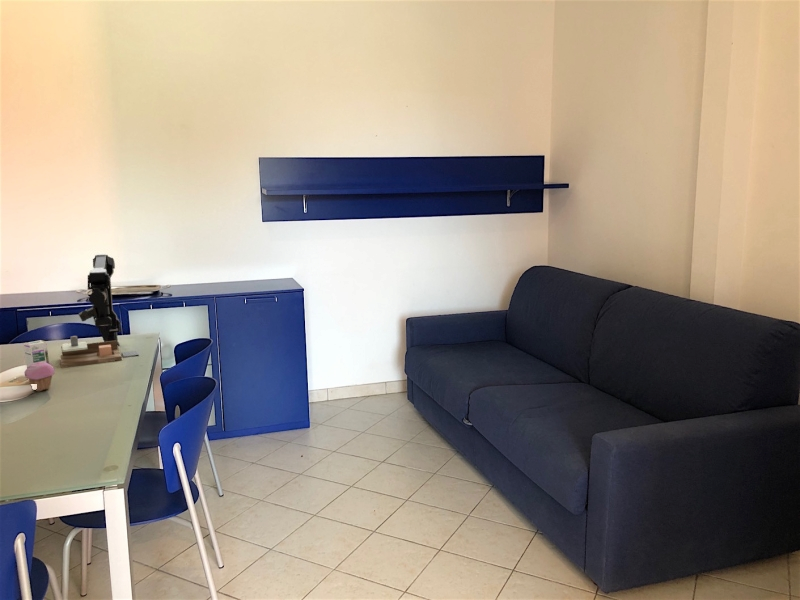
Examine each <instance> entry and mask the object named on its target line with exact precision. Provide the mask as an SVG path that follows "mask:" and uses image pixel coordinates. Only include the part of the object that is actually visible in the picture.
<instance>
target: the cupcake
mask: <svg viewBox="0 0 800 600" xmlns="http://www.w3.org/2000/svg"><path fill="white" fill-rule="evenodd" d="M54 374H55V368H54V367H53V365H51V364H50V363H49V364H48V363H46V362H37V363H33V364H31V365H30V366H29V367H28V368H27V367H26V369H25V371H24V377H25V378H27V379H29V380H28V381H29V384H37V389H36V391H35V392H42V391H44V390H49V389H50V387H51V383H52V378H53V375H54Z"/></svg>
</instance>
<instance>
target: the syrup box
mask: <svg viewBox="0 0 800 600" xmlns="http://www.w3.org/2000/svg"><path fill="white" fill-rule="evenodd" d="M47 344H48V343H47V341H45V340H41V339H40V340H35V341H29V342H24V343H23V349H24V357H25V365H26V369H27V368H28V367H29V366H30V365H31V364H33V363H37V362H46V363H48V364H50V360H49V351H48V345H47Z"/></svg>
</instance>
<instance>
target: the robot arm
mask: <svg viewBox="0 0 800 600" xmlns="http://www.w3.org/2000/svg"><path fill="white" fill-rule="evenodd" d="M115 269H116V263H115V259H114V258H113V257H112V256H111V257H110V256H109V255H108V254H105V253H102V254H94V258H92V269H91V270H90V271H89V274H87V290H88V291H90V290H91V293H90V295H89V298H88V299H89V302H90V304H92V307H90V308H88V309H85V310H82V311H81V312H79V313H78V317H79V318H80V320H81V322H85V321H86V320H89V319H91V318H93V322H94V327H95V328H97V329H98V334H101V337H102V340H103V342H106V341H115V340H117V345H118V346H120V342H119V339H118V333H120V332H122V331H123V330H122V329H123V328H122V322H121V321H120V318H118V315H117V314H116V312H115V311H114V309H113V294H112V293H113V292H112V282H111V278H112V276H113V275H114V273H115V271H114V270H115Z"/></svg>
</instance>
